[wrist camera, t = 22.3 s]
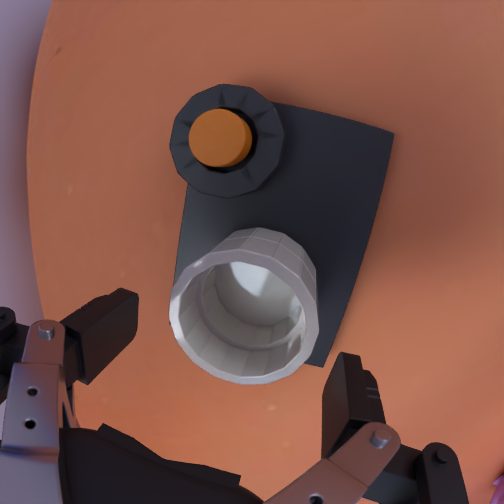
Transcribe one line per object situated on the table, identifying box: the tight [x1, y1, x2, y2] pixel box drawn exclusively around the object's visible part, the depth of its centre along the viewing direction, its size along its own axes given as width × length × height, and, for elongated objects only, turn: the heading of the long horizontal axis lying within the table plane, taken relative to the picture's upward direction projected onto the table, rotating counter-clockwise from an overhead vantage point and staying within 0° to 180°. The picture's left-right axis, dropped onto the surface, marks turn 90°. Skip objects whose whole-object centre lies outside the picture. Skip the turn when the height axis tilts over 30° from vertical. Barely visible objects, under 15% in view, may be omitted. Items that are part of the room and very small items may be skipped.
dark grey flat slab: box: [169, 84, 394, 368], centre depth 16 cm, size 11×14×3 cm
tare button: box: [189, 109, 252, 167], centre depth 13 cm, size 3×3×2 cm
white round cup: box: [169, 227, 319, 385], centre depth 15 cm, size 6×6×5 cm
